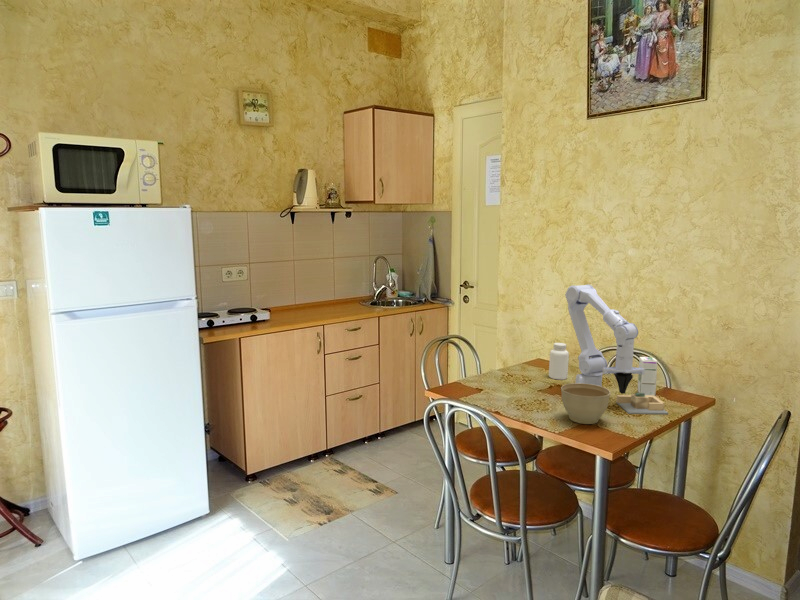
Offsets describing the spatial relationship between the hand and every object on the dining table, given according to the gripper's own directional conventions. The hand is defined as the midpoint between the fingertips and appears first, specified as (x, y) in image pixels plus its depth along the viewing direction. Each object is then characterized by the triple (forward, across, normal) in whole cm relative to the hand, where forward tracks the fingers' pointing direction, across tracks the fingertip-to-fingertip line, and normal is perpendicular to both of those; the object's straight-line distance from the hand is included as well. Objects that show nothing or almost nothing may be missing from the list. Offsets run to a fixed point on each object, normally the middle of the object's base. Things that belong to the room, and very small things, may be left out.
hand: (622, 392), depth 205 cm
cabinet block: (+5, +6, -1) cm, 8 cm away
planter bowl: (+6, -18, -14) cm, 23 cm away
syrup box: (+6, +16, +16) cm, 24 cm away
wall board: (+6, +7, -1) cm, 9 cm away
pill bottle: (+6, -13, +38) cm, 41 cm away
